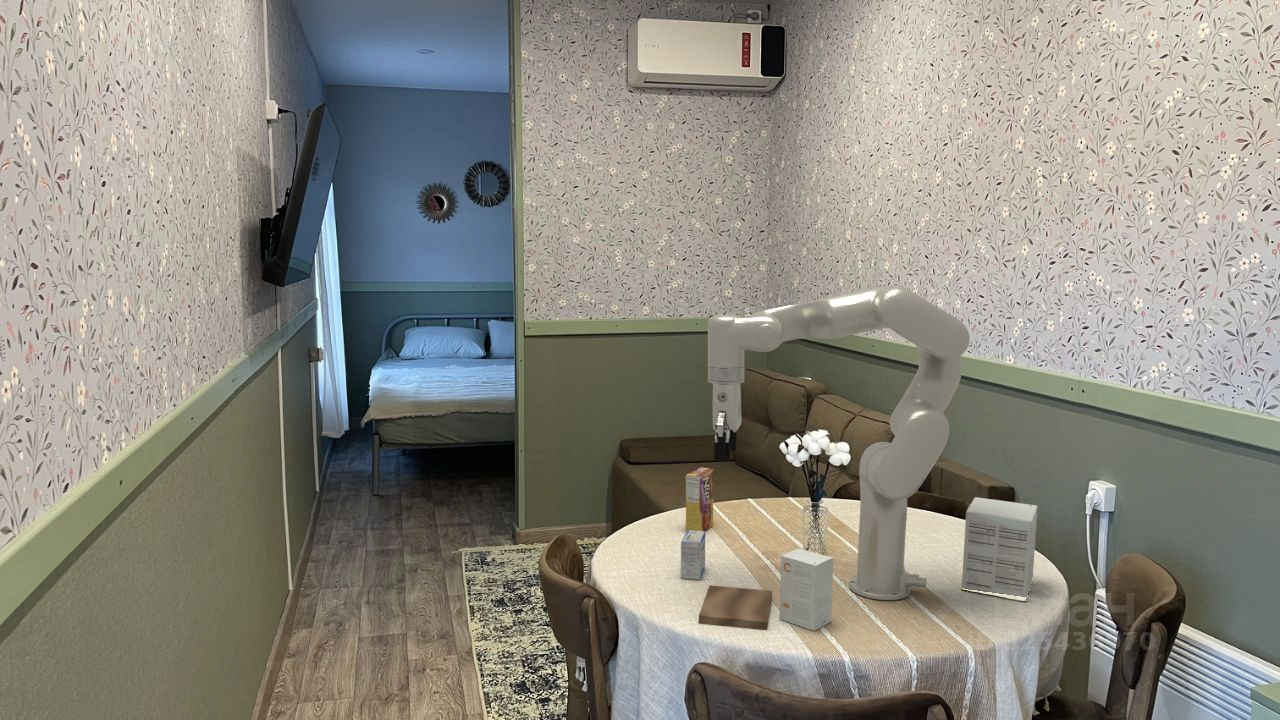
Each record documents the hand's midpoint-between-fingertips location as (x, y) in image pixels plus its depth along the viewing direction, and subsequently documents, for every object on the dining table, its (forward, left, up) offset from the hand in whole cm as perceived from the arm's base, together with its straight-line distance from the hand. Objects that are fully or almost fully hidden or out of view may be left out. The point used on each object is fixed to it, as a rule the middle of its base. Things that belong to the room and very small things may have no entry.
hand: (725, 455), depth 188 cm
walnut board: (-4, +12, -28) cm, 31 cm away
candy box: (+10, -37, -29) cm, 48 cm away
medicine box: (+7, -6, -29) cm, 30 cm away
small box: (-18, +14, -29) cm, 36 cm away
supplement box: (-58, -14, -29) cm, 66 cm away
